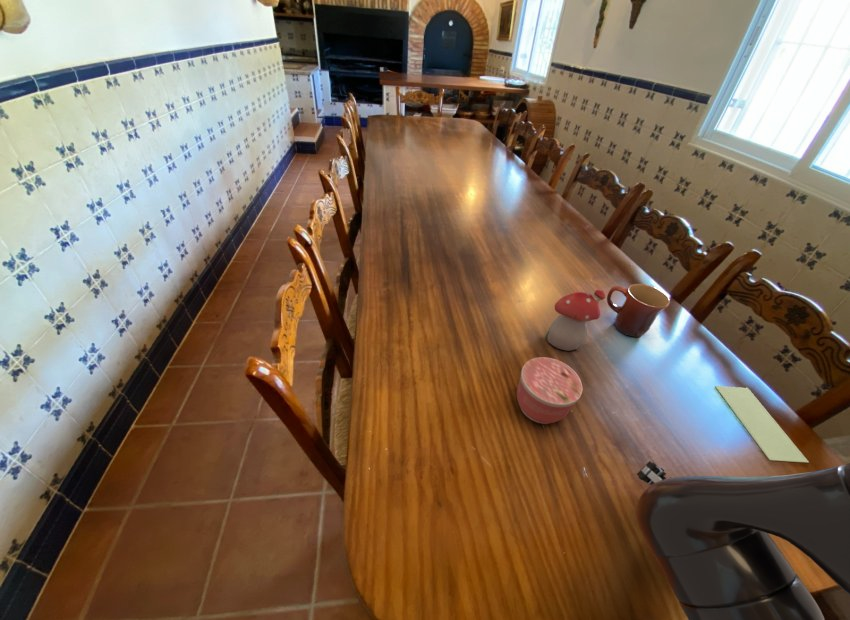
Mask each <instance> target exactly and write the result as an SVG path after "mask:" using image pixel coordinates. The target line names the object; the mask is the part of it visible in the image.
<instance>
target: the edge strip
mask: <svg viewBox="0 0 850 620" xmlns="http://www.w3.org/2000/svg"><path fill="white" fill-rule="evenodd" d="M714 387H715V389H716V390H717V391H718V394H719V395H720V396H721V397H722V398H723V400H724V401H725V402H726V404H727V405H728V407H729V408H730V409H731V410H732V412H733V413H734V415H735V416H736V417H737V419H738V420H739V421H740V423H741V424H742V425H743V428H745V430H746V431H747V432H748V435H750V436H751V438H752V439H753V440H754V442H755V443H756V445H757V446H758V447H759V448H760V450H761V451H762V453H763V454H764V455H765V456H766V459H768V461H769V462H773V461H774V462H787V463H788V462H789V463H802V464H803V463H804V464H809V463H810V461H809V460H808V459H807V458H806V457H805V455H804V454H803V453H802V452H801V450H800V449H799V448H798V447H797V446H796V444H795V443H794V442H793V441H792V440H791V438H790V437H789V435H787V434H786V432H785V431H784V430H783V429H782V427H781V425H779V424H778V422H777V421H776V420H775V419H774V418H773V416H772V415H771V414H770V413H769V412H768V410H767V409H766V407H765V406H764V405H763V404H762V403H761V402H760V400H759V399H758V398H757V397H756V395H755V394H754V393H753V392H752V390H751V389H749V387H740V386H739V387H738V386H723V385H714Z"/></svg>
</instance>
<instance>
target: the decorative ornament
mask: <svg viewBox="0 0 850 620" xmlns="http://www.w3.org/2000/svg"><path fill="white" fill-rule="evenodd" d="M606 298H607V295H606V292H605V291H604V290H602V289H596V290H595V291H594V293H589V292H587V291H574V292H572V293H569V294H566V295H564V296H562V297H561V298H559V299H558V300H557V301H556V302H555V303H554V310H555V312H557V313H558V314H559V316H557V317H556V318H555V319H554V320H553V321H552V322H551V324H550V326H549V327H548V331H547V333H546V335H545V339H546V341H547V343H549V344H550V345H551V346H553V347H554V348H556V349H558V350H563V351H567V352H570V351H574V350H577V349H578V348H579V347H580V346H581V345H582V344H583V342H585V340H586V338H587V336H588V324H587V322H591V321H596V320H599V318H600V317H601V315H602V314H601V313H602V312H601V306H600V301H603V300H605V299H606Z"/></svg>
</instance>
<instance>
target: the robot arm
mask: <svg viewBox="0 0 850 620" xmlns="http://www.w3.org/2000/svg"><path fill="white" fill-rule="evenodd" d="M636 475H637V477H638V479H639V480H641V481H643V482H644V483H646V484H648V485H649V486H648V487H647V488H646V489H645V490H644V491H643V492H642V494H641V495H640V496H639V498H638V500H637V503H636V505H635V506H636V507H635V519H636V523H637V525H638V527H639V531H640V532H641V535H642V536H643V538H644V540H645V542H646V544H647V546H648V548H649V549H650V552H651V554H653V556H654V559H655V560H656V562H657V564H658V566H659V568H660V569H661V571H662V573H663V575H664V577H665V579H666V581H667V583H668V584H669V586H670V588H671V590H672V592H673V593H674V596H675V597H676V599H677V600H678V603H679V605H680V607H681V609H682V610H683V612H684V614H685V616H686V618H687V620H825V617H824V614H823V612H822V610H821V608H820V607H819V605H818V603H817V602H816V600H815V598H814V597H813V595H812V594H811V592H810V591H809V589H808V588H807V586H806V585H805V584H804V582H803V581H802V579H801V577H799V575H798V574H797V573H796V572H795V569H794V568H793V567H792V565H791V564H790V562H789V561H788V559H787V558H786V557H785V555H784V554H783V552H782V551H781V550H780V549H779V547H778V544H776V542H775V541H774V540H773V538H772V537H771V536H770V535H772V536H774V537H778V538H780V539H782V540H784V541H786V542H788V543H790V545H792V546H794V547H795V548H796V549H797V550H799V551H801V552H802V553H803V554H804V555H805V556H806V557H808V558H809V559H810V560H811V561H812V562H813V563H814V564H816V565H817V566H818V567H819V569H821V571H823V572H824V573H825V574H826V575H827V576H828V577H829V578H830V579H831V580H832V581H833V582H834V583H835V584H836V585H837V586H838V587H840V589H841V590H843V592H845V593H846V594H847V595H848V596H850V462H849V463H847V464H842V465H838V466H834V467H829V468H824V469H820V470H814V471H809V472H801V473H792V474H784V475H768V476H767V475H765V476H723V475H722V476H719V475H684V476H673V477H672V476H671V477H668V478H667V477H666V475H667V472H666V471H665V470H664V469H663V467H659V466H658V464H656V463H655V462H652V461H651V460H649V461H648V462H647V463H646V464H645V465H643V467H642V468H641V469H640V470H639V471H638V472H637V473H636Z"/></svg>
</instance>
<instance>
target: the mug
mask: <svg viewBox="0 0 850 620" xmlns="http://www.w3.org/2000/svg"><path fill="white" fill-rule="evenodd" d="M615 291H617V292H620V293H621V294H622V295H623V296H624V297H625V300H624V302H623V304H622V305H620V306H619V305H617V304H615V303H614V302H613V300H612V298H613V297H612V296H613V293H615ZM606 303H607V305H608V307H609V308H610V309H611V310H612V311H613V312H614V313H616V316H615V319H614V325H615V327H616V328H617V330H619V332H621V333H622V334H624V335H627V336H629V337H632V338H633V337H636V338H638V337H643V336H645V334H647V333H648V331H649V330H650V329H651V327H652V325H653V324H654V322H655V321H656V319H657V317H658V315H659V314H660V313H662V311H664V310H665V309H666V308H667V307H669V305H670V304H671V300H670V298H669V296H668V295H667V294H666V293H665V292H663V291H662V290H660V289H659V288H658V287H654V286H652V285H649V284H644V283H633V284H630V285H629V286H628V287H624V286H621V285H615V286H612V287H610V289H609V291H608V292H607V295H606Z"/></svg>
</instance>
